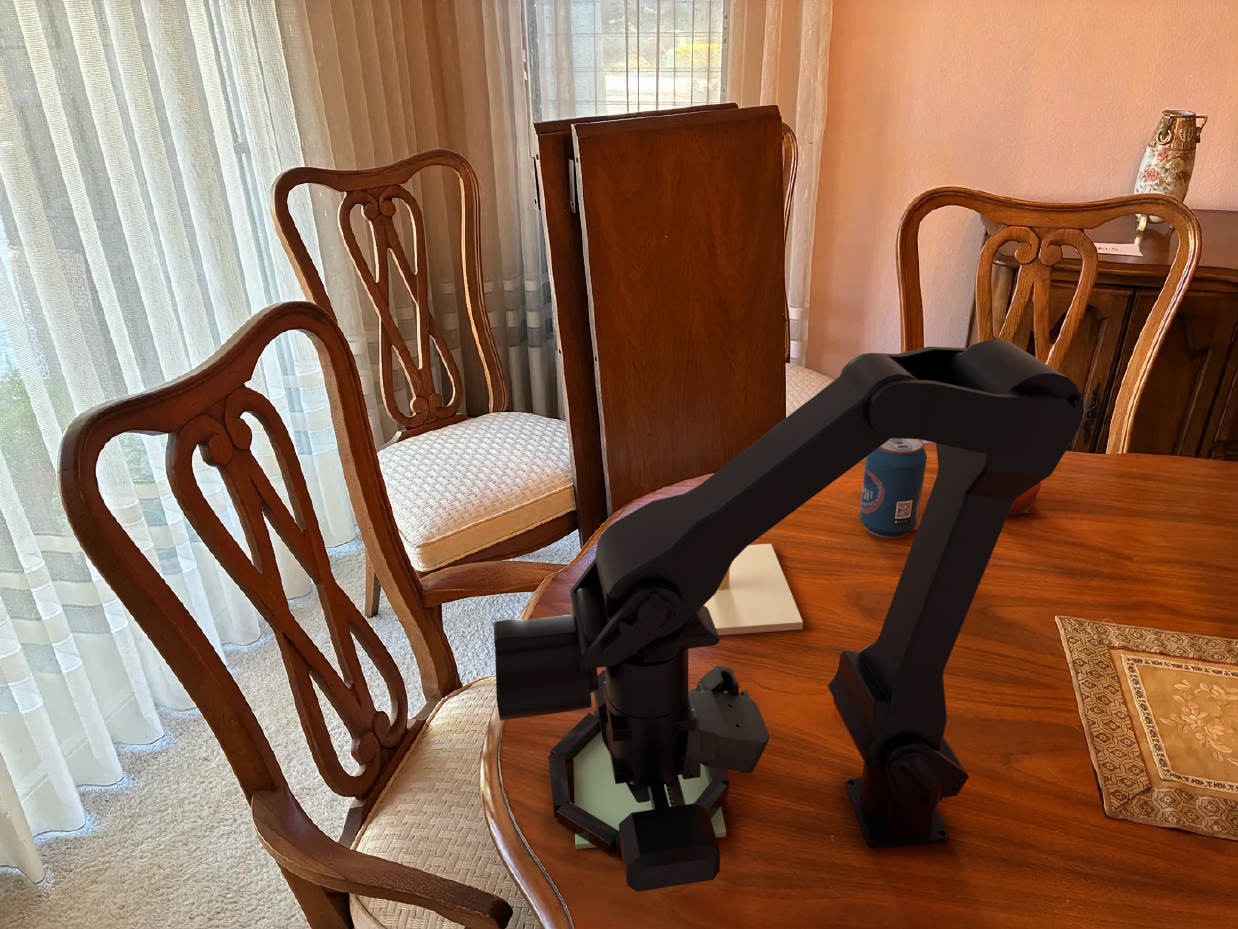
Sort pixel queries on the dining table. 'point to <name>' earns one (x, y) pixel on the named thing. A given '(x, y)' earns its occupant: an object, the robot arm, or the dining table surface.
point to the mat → (621, 790)
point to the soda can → (893, 487)
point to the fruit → (1025, 501)
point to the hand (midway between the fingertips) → (651, 840)
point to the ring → (586, 822)
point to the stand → (754, 596)
